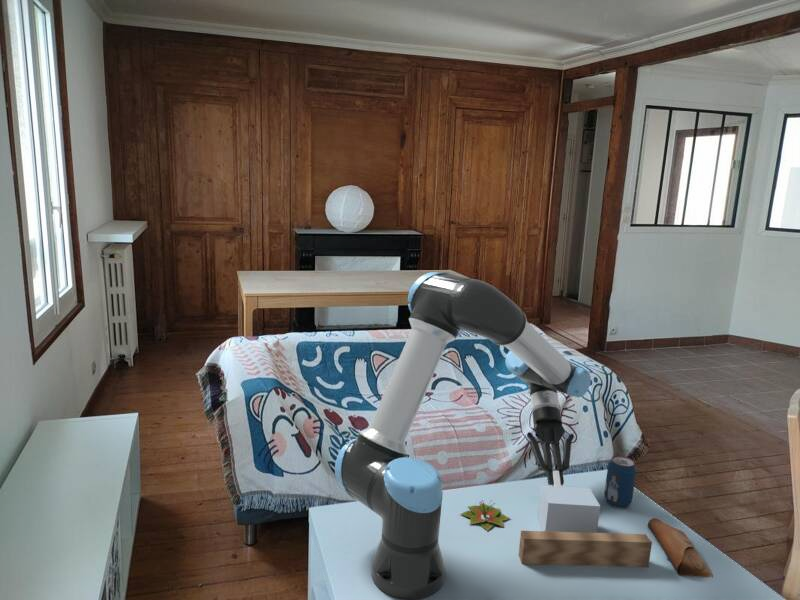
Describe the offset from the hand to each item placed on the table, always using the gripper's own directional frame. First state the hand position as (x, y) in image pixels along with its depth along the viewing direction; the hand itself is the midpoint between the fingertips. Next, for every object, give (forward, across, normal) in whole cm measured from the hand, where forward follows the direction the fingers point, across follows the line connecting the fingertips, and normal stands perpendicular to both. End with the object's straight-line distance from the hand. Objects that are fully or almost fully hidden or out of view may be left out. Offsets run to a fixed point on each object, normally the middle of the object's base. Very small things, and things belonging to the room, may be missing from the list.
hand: (558, 497), depth 145 cm
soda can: (-1, +18, +7) cm, 19 cm away
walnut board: (+17, 0, -11) cm, 20 cm away
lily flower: (+6, -19, +1) cm, 20 cm away
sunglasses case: (+14, +24, -7) cm, 29 cm away
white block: (+8, 0, -2) cm, 9 cm away
